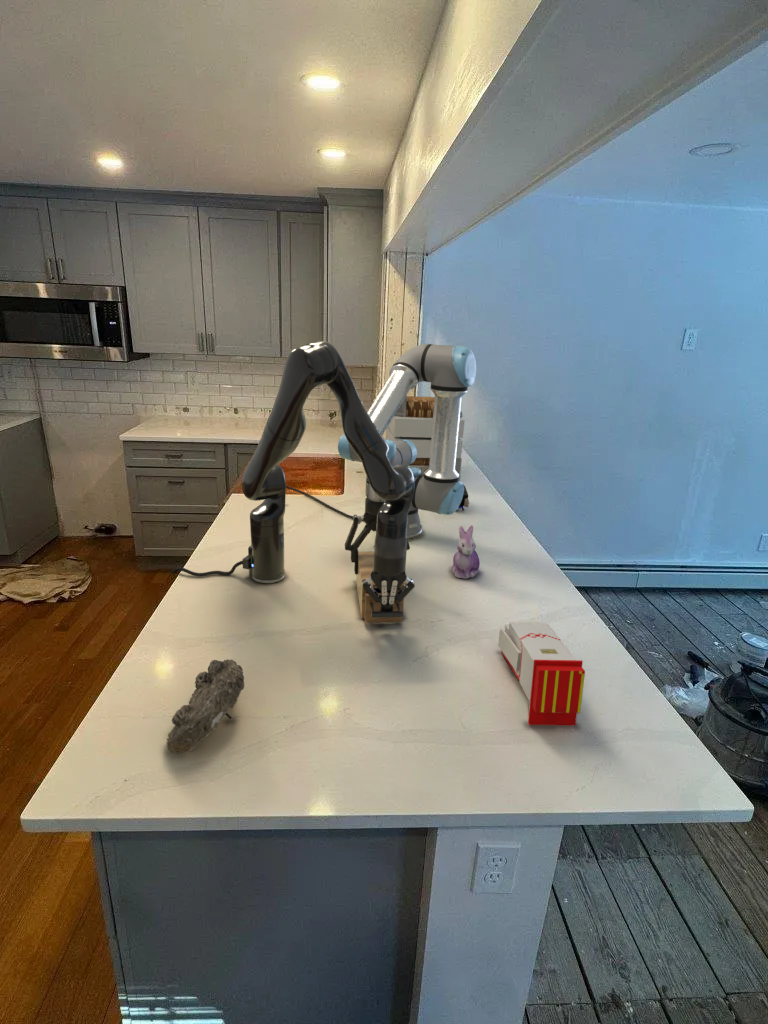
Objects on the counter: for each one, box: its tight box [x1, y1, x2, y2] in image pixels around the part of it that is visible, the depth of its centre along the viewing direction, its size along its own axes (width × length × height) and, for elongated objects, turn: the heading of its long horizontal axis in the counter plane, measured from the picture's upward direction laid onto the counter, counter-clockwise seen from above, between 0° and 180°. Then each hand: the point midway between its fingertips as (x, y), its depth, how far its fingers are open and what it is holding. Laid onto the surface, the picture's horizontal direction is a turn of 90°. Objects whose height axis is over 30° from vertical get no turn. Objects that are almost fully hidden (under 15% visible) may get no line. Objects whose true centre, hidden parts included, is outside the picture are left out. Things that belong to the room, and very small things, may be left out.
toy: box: [497, 621, 586, 727], centre depth 121 cm, size 12×13×30 cm
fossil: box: [166, 658, 245, 754], centre depth 106 cm, size 22×10×15 cm
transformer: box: [384, 395, 465, 482], centre depth 268 cm, size 34×33×41 cm
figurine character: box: [455, 485, 470, 512], centre depth 229 cm, size 7×8×15 cm
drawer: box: [364, 588, 405, 624], centre depth 146 cm, size 25×9×8 cm, turn 6°
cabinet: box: [355, 550, 404, 619], centre depth 153 cm, size 20×11×10 cm, turn 6°
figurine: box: [451, 524, 481, 580], centre depth 170 cm, size 9×10×15 cm
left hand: (386, 615), depth 137 cm, fingers closed
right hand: (376, 572), depth 160 cm, fingers closed on cabinet, 11 cm apart
